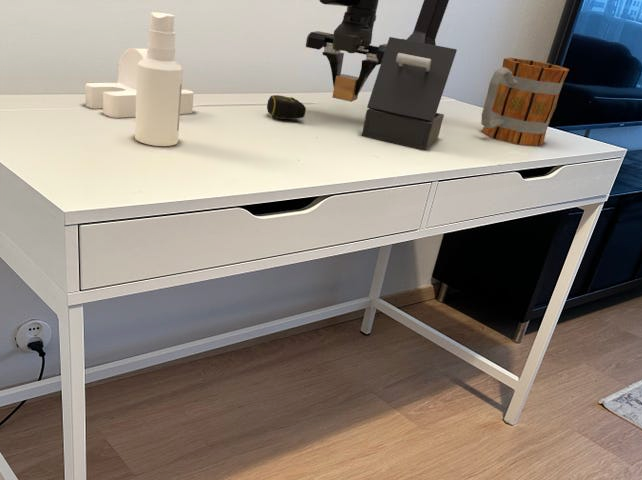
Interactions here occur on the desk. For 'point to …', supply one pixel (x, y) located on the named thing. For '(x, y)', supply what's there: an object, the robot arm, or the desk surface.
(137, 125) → the spray bottle
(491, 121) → the mug
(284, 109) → the tape measure
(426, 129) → the dark grey box
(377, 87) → the lid
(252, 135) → the desk surface
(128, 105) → the white slotted bracket
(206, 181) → the desk surface
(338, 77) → the orange-brown cube
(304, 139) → the desk surface
